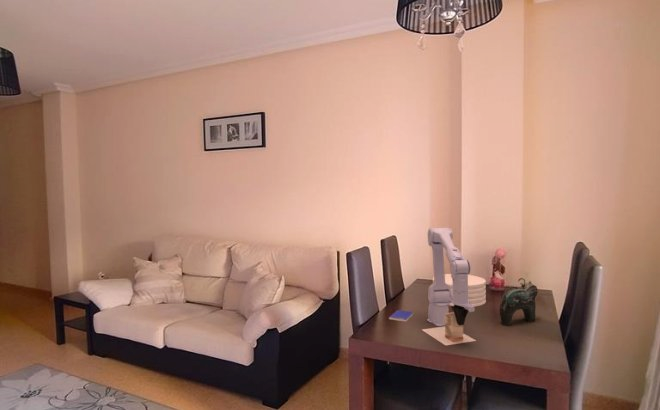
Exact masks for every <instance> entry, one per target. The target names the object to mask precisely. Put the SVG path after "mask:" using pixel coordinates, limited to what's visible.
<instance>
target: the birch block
mask: <svg viewBox="0 0 660 410" xmlns="http://www.w3.org/2000/svg"><path fill="white" fill-rule="evenodd" d="M444 326H445V338H447V339H449V340H450V341H452V342H455V341H462V340H463V334H464V325H458V324H457V321H456V317H455V314H454V312H453V311H452V312H449V313H445V325H444Z"/></svg>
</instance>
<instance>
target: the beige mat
mask: <svg viewBox="0 0 660 410" xmlns="http://www.w3.org/2000/svg"><path fill="white" fill-rule="evenodd" d="M422 332H425V334H427V335H429V336H430V337H431V338H433V339H435V340H436V341H438V342H439V343H441V344H442V345H444V346H450V345H451V346H452V345H457V344H464V343H471V342H476V341H477V340H476V339H474V338H473V337H470V336H469V335H468V334H465V333H463V340H462V341H455V342H452V341H450V340H449V339H447V338H445V325H443V326H437V327H431V328H430V327H429V328H424V329H422Z"/></svg>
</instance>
